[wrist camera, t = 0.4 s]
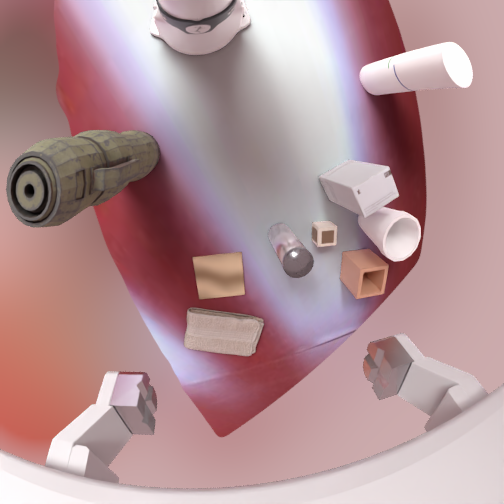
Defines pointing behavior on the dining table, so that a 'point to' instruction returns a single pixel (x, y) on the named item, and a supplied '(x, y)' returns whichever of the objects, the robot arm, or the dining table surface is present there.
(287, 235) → the tin canister
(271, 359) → the dining table surface
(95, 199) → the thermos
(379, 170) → the skincare box
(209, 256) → the cork coaster
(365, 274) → the terracotta planter
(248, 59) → the dining table surface
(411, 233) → the foam cup
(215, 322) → the washcloth
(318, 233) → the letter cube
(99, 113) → the dining table surface
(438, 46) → the cylindrical container
